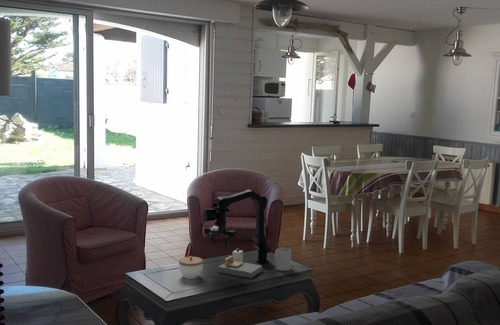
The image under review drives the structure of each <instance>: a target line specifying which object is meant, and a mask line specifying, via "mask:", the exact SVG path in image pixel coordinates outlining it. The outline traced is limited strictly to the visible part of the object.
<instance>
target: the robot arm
mask: <svg viewBox="0 0 500 325" xmlns="http://www.w3.org/2000/svg"><path fill="white" fill-rule="evenodd" d="M246 199H251V200H252V201H253V206H254V209H255V223H256V224H255V236H252V243H251V244H252V245H253V247H254V248H255V251H257V259H256V260H255V263H261V264H267V263H268V262H270V259H268V254H270V253H271V248H270V246H269V245H268V242H267V238H266V236H265V210H266V208H267V206H268V198H267V197H266V196H264V195H262V194H258V193H257V192H256V191H254V190H251V189H248V188H247V189H246V190H243V191H241V192H237V193H235V194H231V195H225V196H224V195H223V196H217V197H216V198H215V200H214V202H213V204H212V205H211V207H210V208H204V210H203V212H202V217H201V218H202V221H203V222H212V221H213V222H214V225H213V226H208V227H205V228H204V230H203V234H204V235H205V234H207V236H209V237H210V239H211V242H212V246H213V247H216V244H217V237H219V236H220V234H221V235H226V236H225V237H224V238H225V246H224V247H225V248H226V249H228V247H229V245H230V242H231V240H232V239H233V238H235V237H238V234H239V232H238V230H234V229H229V230H228V228H227V224H228V220H227V213H229V212H230V211H231V210H230V208H229V207H230V206H231V205H233V204H234V203H237V202H240V201H243V200H246Z"/></svg>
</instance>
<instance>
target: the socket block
mask: <svg viewBox="0 0 500 325" xmlns="http://www.w3.org/2000/svg"><path fill="white" fill-rule="evenodd" d="M217 271H218V273H222V274H227V275H232V276H237V277H241V278H243V277H244V278H249V279H252V278H254V277H255V276H257V275H258V274H260V273H261V272H262V271H263V265H260V264H253V263H250V262H244V261H243V264H242V265H240V266H239V267H231V266H226V265H225V262H224V263H223V264H220V265H219V266H218V270H217Z"/></svg>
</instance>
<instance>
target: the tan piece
mask: <svg viewBox="0 0 500 325" xmlns="http://www.w3.org/2000/svg"><path fill="white" fill-rule="evenodd" d="M243 262H244V261H243ZM243 262H238V261H233V256H232V255H230V256H228V257H226V258H225V259H224V263H225V265H226V266H231V267H239V266H240V265H242V264H243Z"/></svg>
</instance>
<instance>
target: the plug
mask: <svg viewBox="0 0 500 325" xmlns="http://www.w3.org/2000/svg"><path fill="white" fill-rule="evenodd" d="M231 256H233V261H238V262H244V260H243V259H244V250H240V248H239V247H238V248H236V249H235V250H233V251H232V255H231Z"/></svg>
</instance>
